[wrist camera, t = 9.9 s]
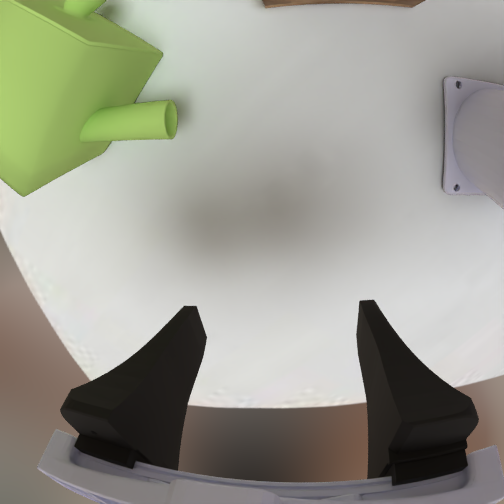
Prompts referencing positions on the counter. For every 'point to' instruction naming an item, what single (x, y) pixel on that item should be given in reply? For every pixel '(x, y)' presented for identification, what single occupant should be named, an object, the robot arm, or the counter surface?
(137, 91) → the gearbox
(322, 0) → the pocket block
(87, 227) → the counter surface
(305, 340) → the counter surface
